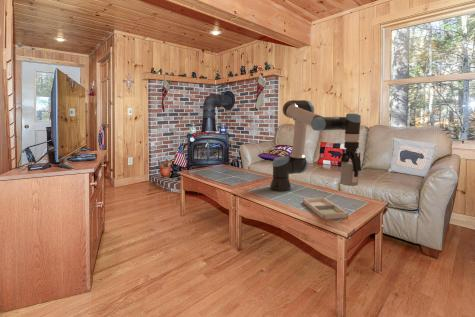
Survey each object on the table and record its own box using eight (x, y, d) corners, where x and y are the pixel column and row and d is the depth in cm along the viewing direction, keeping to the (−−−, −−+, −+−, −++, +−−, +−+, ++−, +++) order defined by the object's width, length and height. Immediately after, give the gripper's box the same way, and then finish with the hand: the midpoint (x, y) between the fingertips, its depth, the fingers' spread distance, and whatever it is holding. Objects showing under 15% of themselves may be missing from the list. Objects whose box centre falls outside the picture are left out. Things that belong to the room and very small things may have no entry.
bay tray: (303, 202, 168) (303, 198, 168) (324, 201, 170) (324, 197, 170) (323, 219, 141) (323, 214, 141) (348, 217, 143) (348, 213, 143)
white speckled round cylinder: (342, 180, 160) (343, 160, 158) (359, 182, 155) (360, 162, 153) (338, 184, 152) (339, 163, 150) (356, 186, 147) (357, 164, 145)
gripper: (370, 143, 139) (367, 184, 143) (346, 139, 161) (344, 175, 165) (357, 143, 138) (354, 185, 142) (335, 139, 160) (333, 175, 164)
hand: (349, 180), depth 153 cm, fingers closed on white speckled round cylinder, 9 cm apart
